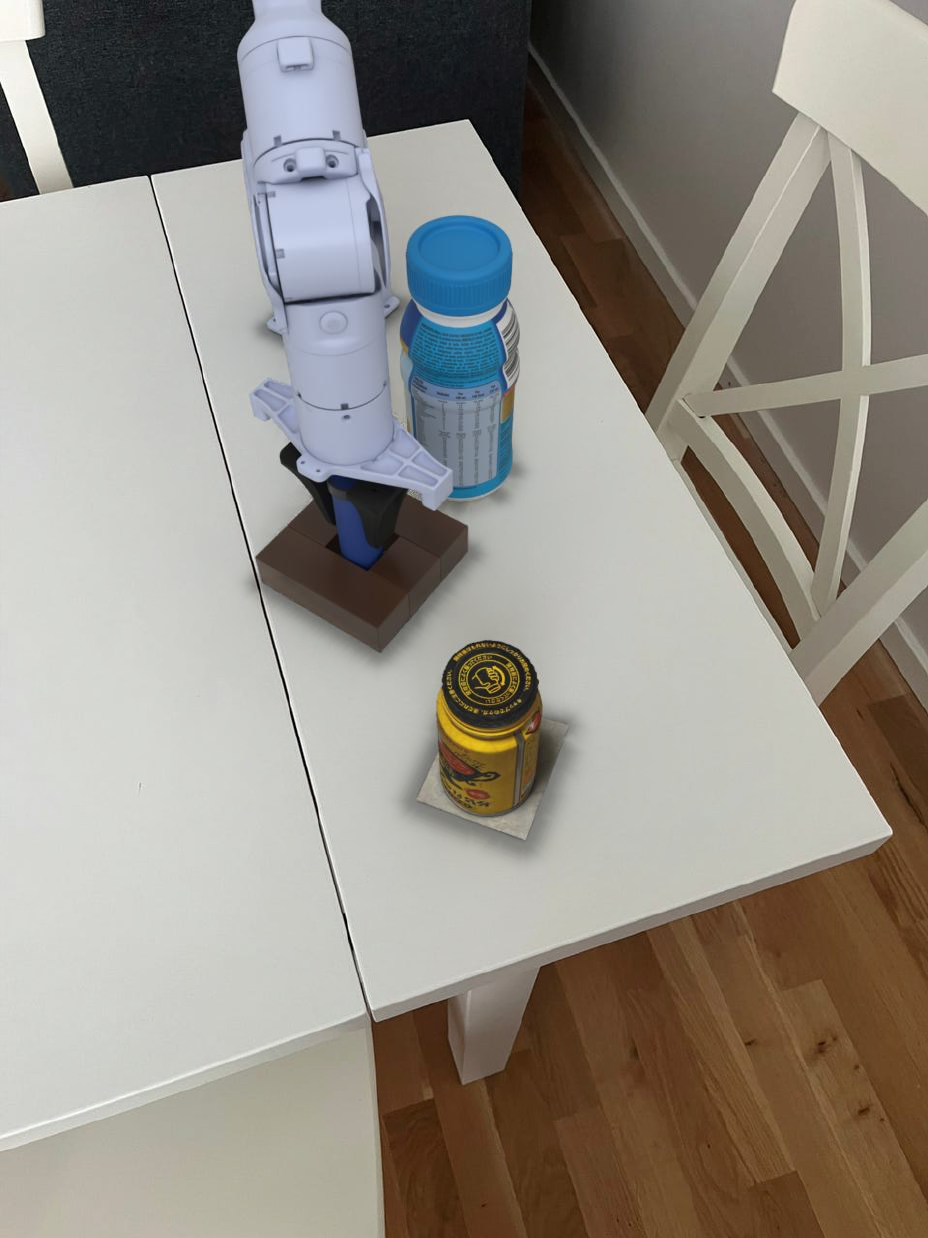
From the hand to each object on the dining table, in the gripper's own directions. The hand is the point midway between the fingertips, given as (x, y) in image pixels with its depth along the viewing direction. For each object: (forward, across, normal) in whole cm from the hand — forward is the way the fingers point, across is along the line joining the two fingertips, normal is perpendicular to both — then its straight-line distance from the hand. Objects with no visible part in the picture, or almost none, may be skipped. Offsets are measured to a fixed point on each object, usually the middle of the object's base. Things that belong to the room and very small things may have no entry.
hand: (360, 526), depth 69 cm
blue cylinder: (+3, 0, 0) cm, 3 cm away
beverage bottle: (+5, 0, +12) cm, 13 cm away
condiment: (+5, +16, -8) cm, 19 cm away
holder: (+5, 0, 0) cm, 5 cm away
